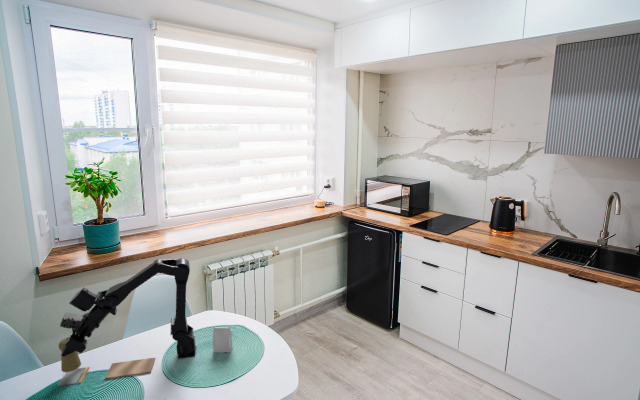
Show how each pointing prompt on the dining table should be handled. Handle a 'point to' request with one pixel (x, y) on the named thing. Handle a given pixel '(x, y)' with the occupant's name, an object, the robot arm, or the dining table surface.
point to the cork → (69, 359)
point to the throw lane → (112, 371)
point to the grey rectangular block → (222, 339)
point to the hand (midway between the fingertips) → (64, 351)
